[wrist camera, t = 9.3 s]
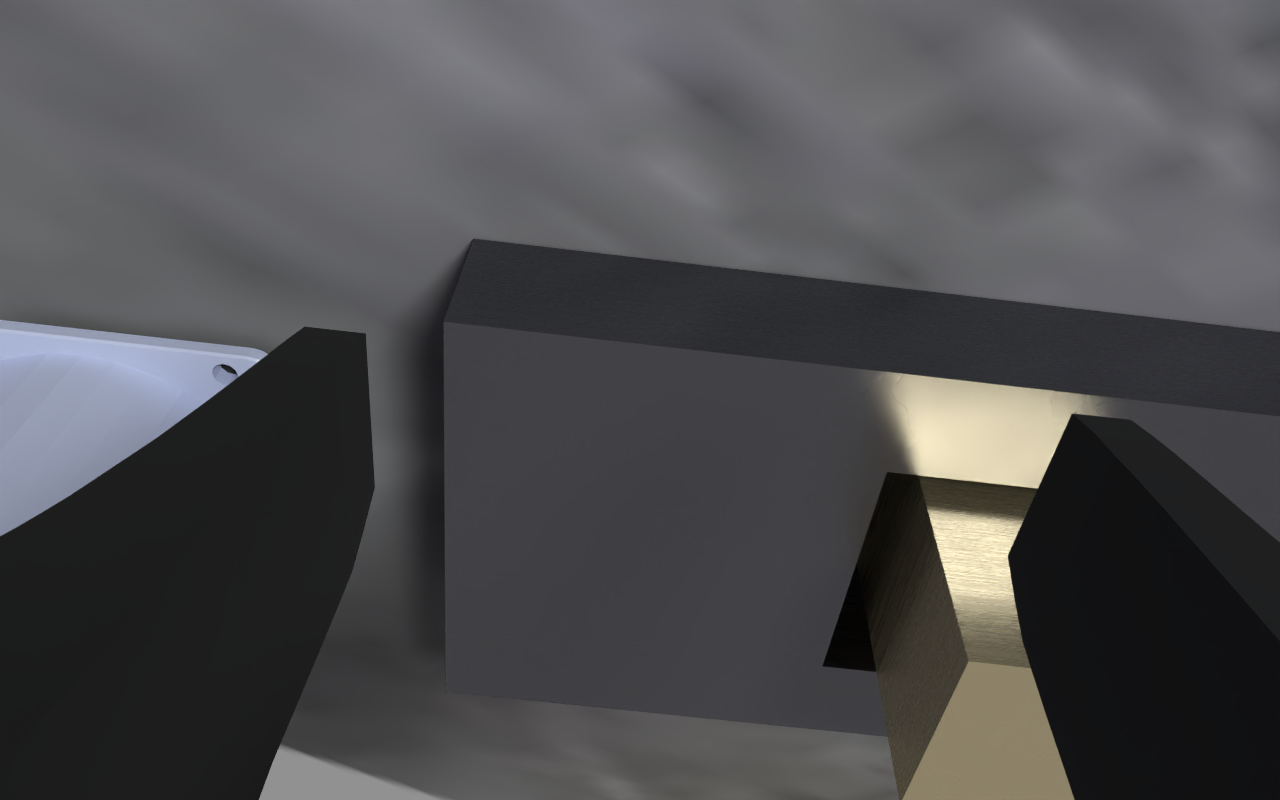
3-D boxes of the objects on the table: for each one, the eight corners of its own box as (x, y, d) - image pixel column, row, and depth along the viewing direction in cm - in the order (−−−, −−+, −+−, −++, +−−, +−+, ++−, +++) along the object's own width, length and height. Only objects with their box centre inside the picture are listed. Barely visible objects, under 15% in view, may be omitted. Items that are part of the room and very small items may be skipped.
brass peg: (851, 533, 24) (900, 804, 19) (897, 397, 22) (968, 660, 16) (1018, 552, 24) (1116, 827, 19) (1081, 419, 22) (1216, 689, 16)
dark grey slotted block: (468, 593, 26) (445, 691, 24) (473, 238, 20) (443, 321, 18) (1320, 682, 27) (1383, 787, 24) (1570, 366, 21) (1687, 462, 18)
